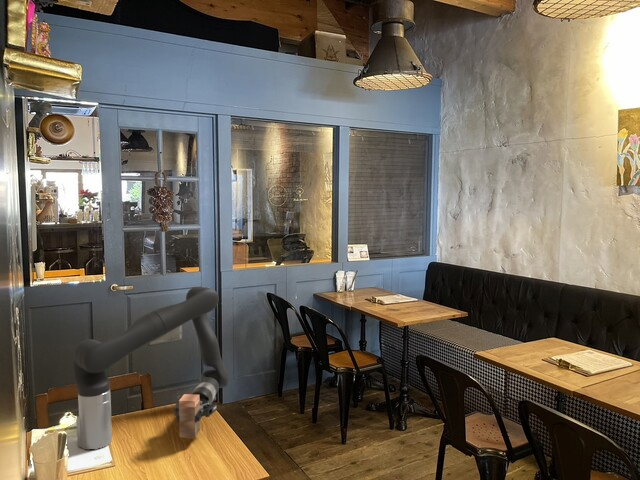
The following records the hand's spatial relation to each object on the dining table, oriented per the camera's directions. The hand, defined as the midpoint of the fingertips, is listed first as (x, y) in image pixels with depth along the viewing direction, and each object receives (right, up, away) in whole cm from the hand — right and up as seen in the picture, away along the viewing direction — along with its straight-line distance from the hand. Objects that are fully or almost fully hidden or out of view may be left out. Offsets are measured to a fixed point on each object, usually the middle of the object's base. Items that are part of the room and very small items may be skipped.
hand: (187, 419), depth 152 cm
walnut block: (0, -6, +3) cm, 7 cm away
